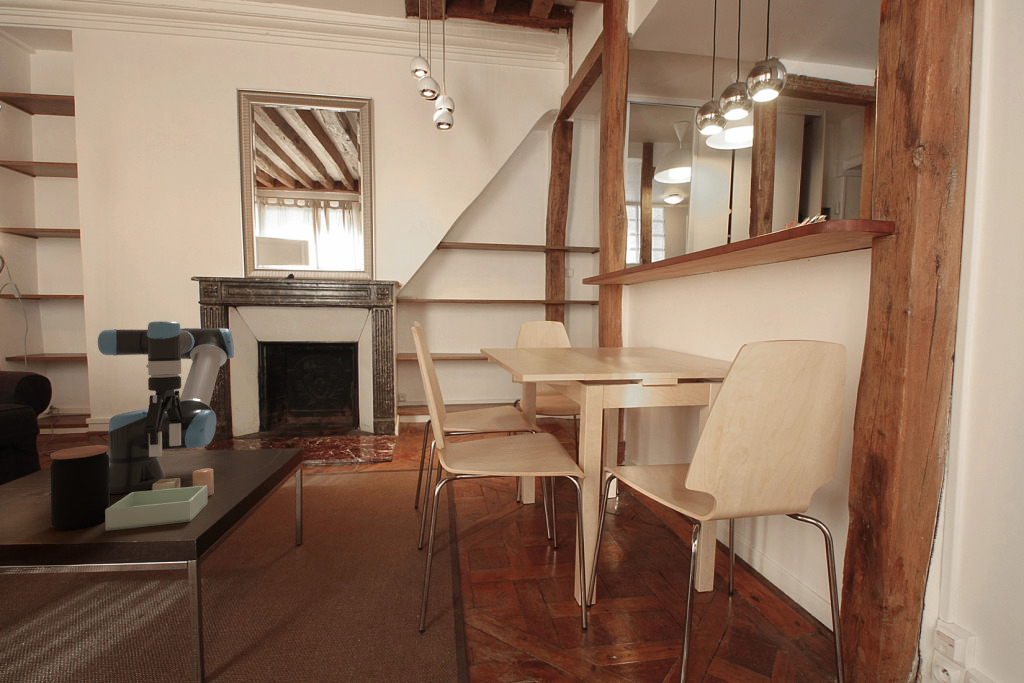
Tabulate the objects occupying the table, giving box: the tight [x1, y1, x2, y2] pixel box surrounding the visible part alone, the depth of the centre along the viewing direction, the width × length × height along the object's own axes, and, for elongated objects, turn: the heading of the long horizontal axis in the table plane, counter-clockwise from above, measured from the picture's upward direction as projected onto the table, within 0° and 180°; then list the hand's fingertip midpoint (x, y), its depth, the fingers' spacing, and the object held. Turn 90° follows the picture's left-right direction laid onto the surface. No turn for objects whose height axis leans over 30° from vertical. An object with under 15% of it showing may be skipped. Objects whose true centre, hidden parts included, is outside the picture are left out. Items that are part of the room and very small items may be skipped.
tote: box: [104, 486, 209, 532], centre depth 118 cm, size 13×17×5 cm
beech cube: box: [151, 477, 181, 491], centre depth 132 cm, size 5×5×5 cm
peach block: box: [192, 467, 215, 497], centre depth 135 cm, size 5×5×7 cm
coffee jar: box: [50, 444, 111, 531], centre depth 115 cm, size 11×11×18 cm
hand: (165, 450), depth 132 cm, fingers open, 13 cm apart
